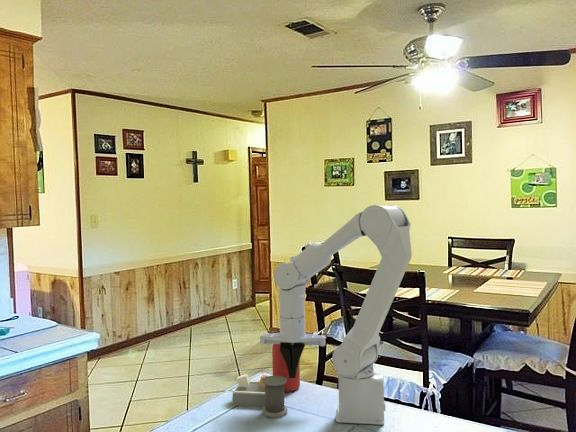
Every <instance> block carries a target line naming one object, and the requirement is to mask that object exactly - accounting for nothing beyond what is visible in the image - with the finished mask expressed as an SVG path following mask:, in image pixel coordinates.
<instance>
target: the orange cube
mask: <svg viewBox="0 0 576 432" xmlns="http://www.w3.org/2000/svg"><path fill="white" fill-rule="evenodd" d="M265 377H268V375H266V374H262V375H261V377H260V380H259V381H260V383H259V385H260V386H263V387H265V384H263V383H262V379H263V378H265Z"/></svg>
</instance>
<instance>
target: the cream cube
mask: <svg viewBox="0 0 576 432" xmlns="http://www.w3.org/2000/svg"><path fill="white" fill-rule="evenodd" d="M236 380H237V384H238V386H239V387H242V386H245V385H249V383H250V381H251V380H250V377H249V375H248V373H245V374H242V375H239V376H237V378H236Z"/></svg>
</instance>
